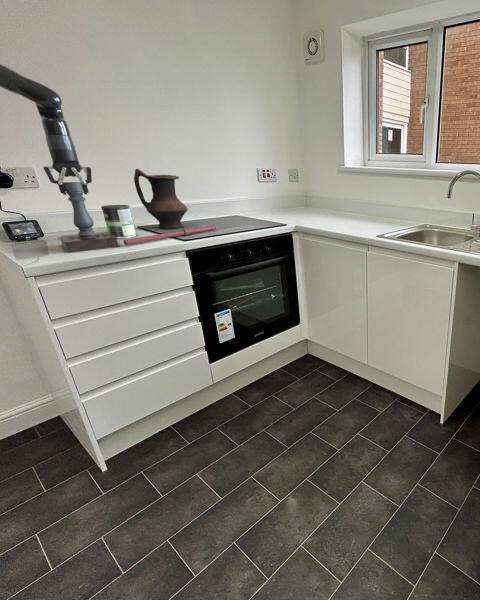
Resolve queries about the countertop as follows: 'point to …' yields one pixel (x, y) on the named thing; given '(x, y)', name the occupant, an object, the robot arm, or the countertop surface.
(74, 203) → the candle holder
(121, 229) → the coffee can
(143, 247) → the countertop surface
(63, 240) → the stand
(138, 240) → the red rod
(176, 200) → the jug
